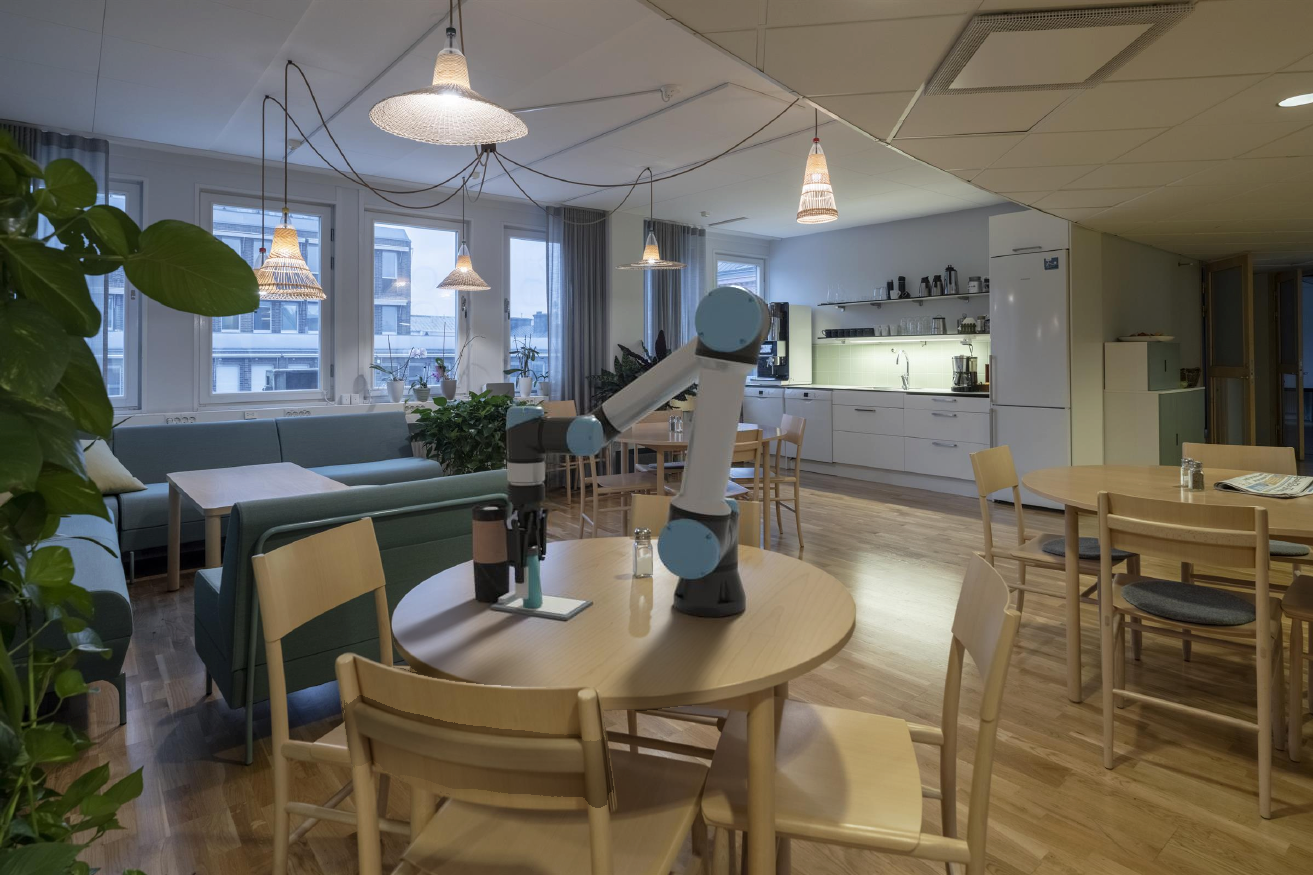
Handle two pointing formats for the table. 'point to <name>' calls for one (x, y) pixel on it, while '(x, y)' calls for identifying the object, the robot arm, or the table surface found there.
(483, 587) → the travel mug
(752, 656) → the table surface
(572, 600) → the clipboard
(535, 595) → the marker
